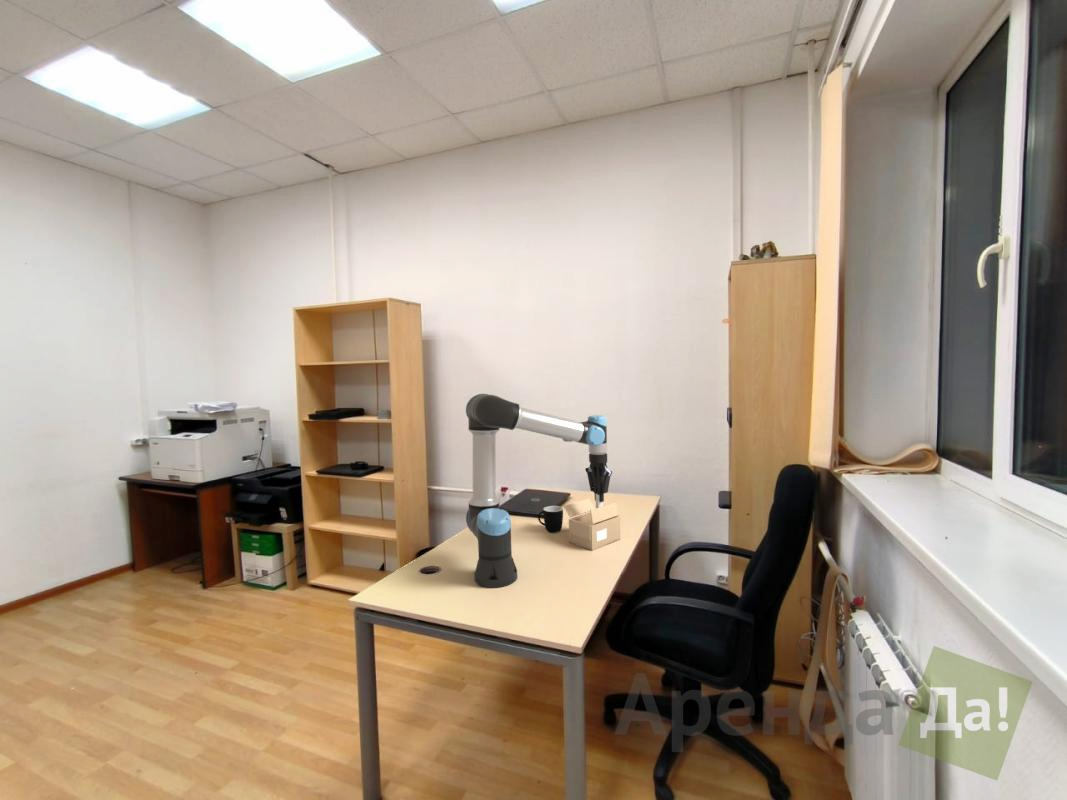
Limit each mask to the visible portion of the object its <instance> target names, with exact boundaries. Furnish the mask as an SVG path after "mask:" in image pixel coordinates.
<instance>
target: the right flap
mask: <svg viewBox="0 0 1067 800" xmlns="http://www.w3.org/2000/svg"><path fill="white" fill-rule="evenodd" d="M589 513H591V520H592V524H594V523H597V522H600V521H603V520H606V519H609V518H612V517H615V516H617V515H619V510H618V505H617V501H615V502H611V503H608V504H606V505H603V506H602V507H599V508H596V507H595V509H592V510H590V511H589Z"/></svg>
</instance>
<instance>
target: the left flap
mask: <svg viewBox="0 0 1067 800" xmlns="http://www.w3.org/2000/svg"><path fill="white" fill-rule="evenodd" d="M563 507H564V508H563V509H565V511H566V513H567V515H568V516H569V518H574V517H577V516H580V515H583V514H587V513H590V510H592V509H595V508H596V506H595V505H594V504H593V502H592V501H591V498H586V499H584V500H583V499H582V500H579V501H576V502H572V503H570V504H566V505H563Z"/></svg>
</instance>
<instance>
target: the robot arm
mask: <svg viewBox="0 0 1067 800" xmlns="http://www.w3.org/2000/svg"><path fill="white" fill-rule="evenodd" d="M465 414H466V417H467V418H468V431H469V432H470V434H471V435H472V497H471V498H470V499H469V501H468V509H467V512H466V514H465V523H466V525H467V528H468V529H469V531H470V532H471V533H472V534H473V535H474V536H475V538H476V539H477V547H478V550H477V551H478V560H477V564H476V567H475V571H474V573H473V574H474V576H473V577H474V583H476V584H477V585H479V586H480V587H485V588H493V589H494V588H502V587H506V586H507V587H508V586H509V585H511V584H513V583H515V582H516V581H517V579H518V569H517V566H516V563H515V561H514V558H513V555H512V554H513V553H512V529H511V528H512V522H511V516H510V514H509V512H508V511H506V510H504V509H500V500H499V499H498V498H497V496H496V443H497V442H496V441H497V440H496V434H497V433H498V432H499V431H500V430H501V429H505V430H506V429H507V430H510V431H513V430H516V429H519V430H521V431H522V430H523V431H528V432H530V433H531V432H532V433H536V434H541V435H544V436H549V437H554V438H558V439H562V441H564V442H570V443H571V442H575V443H579V444H583V445H588V461H589V466H588V467H586V468H585V469H584V470H585V472H586V474H587V479H588V485H589V489H590V492H592V493H594V494H593V495H594V501H595V508H599V507H602V506H604V501H605V496H604V495H605V494H607V493H608V492H609V486H610V480H611V477H612V474H613V471H612V470H609V469H608V466H607V465H608V464H607V463H608V437H607V435H608V434H607V428H608V425H607V419H606V416H605V415H595V414H594V415H589V416H588V417H587V421H586V420H585V421H576V420H572V419H569V418H564V417H561V416H560V417H559V416H557V415H553V414H548V413H544V412H542V411H541V412H540V411H538V410H537V411H536V410H532V409H528V408H525V407H521V405H520V404H519V403H517V402H513V401H509V400H508V399H504V398H502V397H500V396H498V395H495V394H488V393H478V394H475V395H473V396H472V397H471V398H470V399H469V400H468V401H467V403H466V406H465Z"/></svg>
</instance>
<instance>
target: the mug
mask: <svg viewBox="0 0 1067 800" xmlns="http://www.w3.org/2000/svg"><path fill="white" fill-rule="evenodd" d="M542 514H543V521H544V522H542V520H541V515H542ZM537 518H538V519H537V520H538V522H539V523H540V525H542V526H544V527H545V530H546V532H548V533H552V534H556V533H559V532H561V531H562V527H563V521H564V508H563V507H561V506H558V505H549V506H545V507H543V509H542V511H540V512H539V513H538V515H537Z"/></svg>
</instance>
